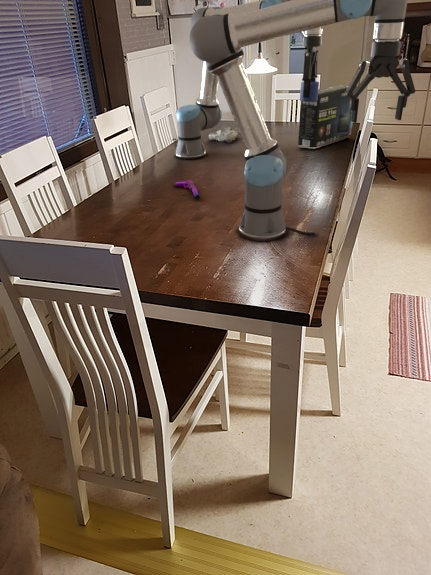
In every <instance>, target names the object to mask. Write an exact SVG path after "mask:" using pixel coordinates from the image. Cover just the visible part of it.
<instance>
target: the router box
mask: <svg viewBox="0 0 431 575" xmlns="http://www.w3.org/2000/svg"><path fill="white" fill-rule="evenodd" d="M348 86H349V84H339V85H338V84H337V85H334V86H328V87H324V88H319V89H318V100H317V101H314V102H303V101H300V109H299V110H300V111H299V124H298V137H297V146H298V145H302V146H307V147H317V146H320V145H323V144H325V143H328V142H331V141H333V140H336V139H338V138H341V137H344V136H347V135H351V136H352V133H353V132H352V131H353V125H354V122H352V121H351V117H352V110H350V97H347V96H345V91H346V90H347V88H348ZM357 86H358V85H357ZM357 86H356V87H355V89H356V88H357ZM355 89H354V90H355ZM311 151H313V150H312V149H311Z"/></svg>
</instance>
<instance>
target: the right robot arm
mask: <svg viewBox="0 0 431 575" xmlns="http://www.w3.org/2000/svg"><path fill="white" fill-rule="evenodd" d="M407 6H408V0H291V1H287V2H284V3H280V4H277V5H273V6H269V7H266V8H262V9H259V10H255V11H251V12H248V13H244V14H241V15H237V16H234V15H233V14H232V13H228V14H224V15H218V14H216V15H213V16H205V17H202V18H200V19H199V20H197V21H196V22H195V24H194V25H193V27H192V28H191V29H190V32H189V36H188V37H189V46H190V48H191V51H192V53H193V54H194V56H195V57H196V58H197V59H198V60H200V61H202V62H203V61H204V62H205V63H206V65H207V68H208V70H209V72H210V73H211V74H214V75H215V76H217V79H218V85H219V87H220V88H221V91H222V94H223V95H224V98H225V101H226V103H227V105H228V108H229V111H230V113H231V115H232V118H233V120H234V123H235V126H236V129H238V130H239V133H240V138H241V140H242V142H243V145H244V147H245V152H244V154H243V157H244V160H245V164H244V170H243V175H244V211H243V213H242V214H241V217H240V218H241V220H240V222H239V225H238V232H239V235H240V236H241V237H242V238H244V239H247V240H250V241H254V242H271V241H277V240H279V239H281V238H283V237H285V235H286V234H287V231H290V232H293V233H296V234H301V235H303V236H305V235H306V236H316V232H315V231H303V230H299V229H296V228H292V227H289V226H287V223H286V221H285V216H284V214H283V210H282V200H283V184H284V181H285V178H286V175H287V173H288V167H289V166H288V160H287V157H286V155H285V154H284V152H283V151H282V150H281V148H280V146H279V143H278V141H277V139H273V138H272V137H271V136H270V133H269V130H268V127H267V125H266V122H265V119H264V117H263V114H262V112H261V109H260V107H259V103H258V102H257V99H256V96H255V93H254V91H253V88H252V85H251V83H250V80H249V77H248V75H247V73H246V70H245V67H244V64H243V61H244V58H245V52H244V50H243V48H245V47H248V46H252V45H256V44H259V43H264V42H267V41H271V40H275V39H279V38H283V37H286V36H287V37H288V36H291V35H294V34H298V33H303V31H306V30H310V29H314V28H318V27H322V26H324V27H325V26H329V25H333V24H337V23H341V22H345V21H349V20H357V19H360V18H361V17H375V21H374V29H373V36H372V38H373V40H374V41H373V42H372V44H371V52H370V60H369V61H366V60H359V62H358V66H357V69H356V71H355V73H354V75H353V77H352V79H351V81H350V82H349V84H348V85H349V86H348V88H347V90H346V91H345V96H347V97H350V110H352V117H351V121H352V122H353V124H354V123H355V124H356V123H357V120H358V113H359V105H360V99H359V98H358V97H359V96H360V95H361V94H362V92H363V91H364V90H365V89H366V88H367V87H368V85H369V84H370V83H371V82H372V81H373V80H374V79H375V78H377V79H381V78H389V77H390V79H391V80H392V82H393V83H394V85H395V86H396V88H397V89H398V91H399V93H400V95H398V97H397V103H396V109H395V116H394V119H395V120H397V121H402V116H403V112H404V108H407V105H408V97H410V95H412V94H413V95H414V94H415V93H416V87H415V84H414V81H413V77H412V74H411V70H410V59H409V58H402V59H399V57H400V52H401V47H402V46H401V45H402V42H401V41H400V40H401V39H402V38H403V32H404V26H405V18H406V13H407ZM398 67H399V68H400V69H401V73H402V77H403V80H404V82H403V81H402V79H401V78H400V76H399V73H398V72H397V70H396V69H397V68H398ZM367 69H369V71H368V72H367V74H366V75H365V77H364V78H363V79H362V76H363V75H364V73H365V71H366V70H367ZM361 79H362V80H361ZM360 80H361V81H360ZM359 82H360V83H359ZM356 86H357V88H356V89H355V87H356ZM354 89H355V90H354Z"/></svg>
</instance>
